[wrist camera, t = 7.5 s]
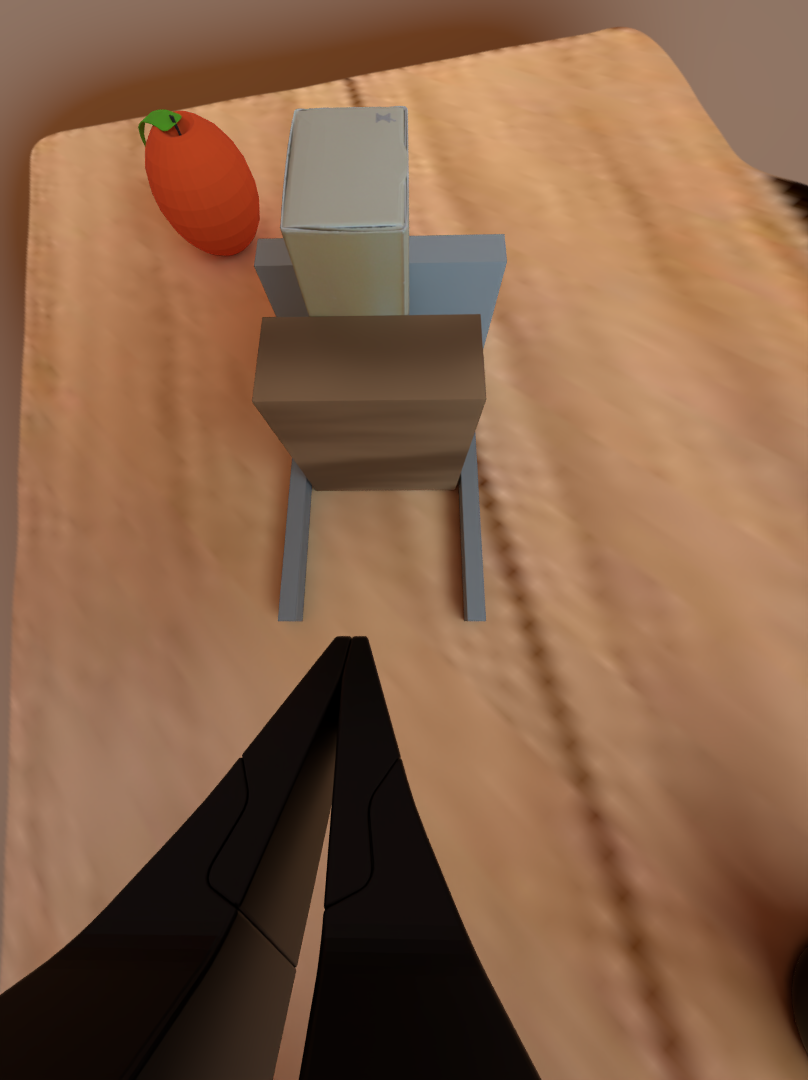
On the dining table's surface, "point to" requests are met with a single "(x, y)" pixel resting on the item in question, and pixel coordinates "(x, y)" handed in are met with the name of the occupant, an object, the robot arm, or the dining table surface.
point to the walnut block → (373, 397)
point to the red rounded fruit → (200, 182)
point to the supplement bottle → (801, 997)
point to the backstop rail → (434, 289)
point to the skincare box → (348, 210)
